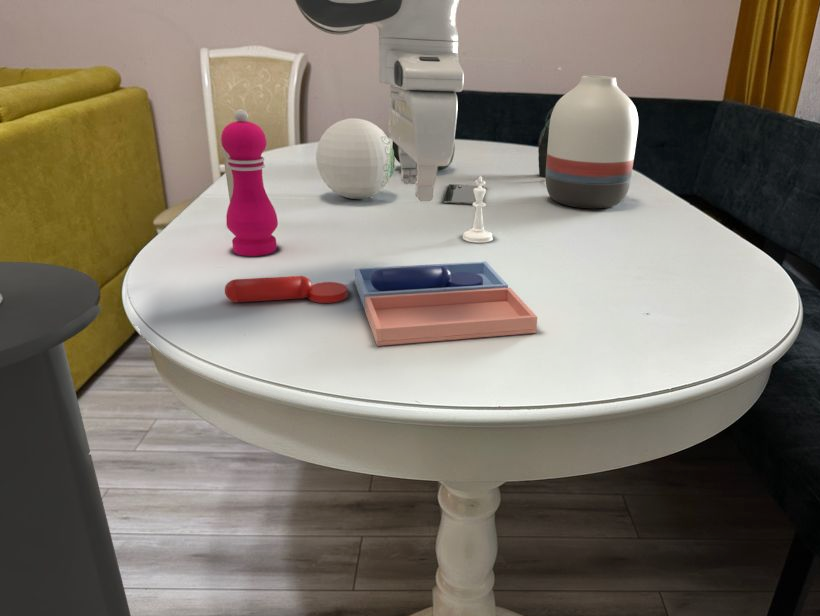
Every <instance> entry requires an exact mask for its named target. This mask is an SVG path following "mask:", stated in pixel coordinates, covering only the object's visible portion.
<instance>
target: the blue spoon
mask: <svg viewBox="0 0 820 616" xmlns="http://www.w3.org/2000/svg"><path fill="white" fill-rule="evenodd" d="M371 284H372V286H373V287H374V288H375V289H377V290H379V291H391V290H407V289H423V288H439V287H445V286H446V287H463V286H480V285H483V278H482V277H481V276H480V275H477V274H474V273H469V272H456V273H450V271H449V270H448V269H447V268H446V267H444V266H426V267H407V268H388V269H378V270H376V271H375V272H374V273H373V274H372V276H371Z"/></svg>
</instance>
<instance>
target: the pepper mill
mask: <svg viewBox="0 0 820 616" xmlns="http://www.w3.org/2000/svg"><path fill="white" fill-rule="evenodd" d="M234 119H235V120H236V121H233V122H229V123H228V124H226V125H225V127H224V128H223V130H222V132H221V135H220V144H221V146H222V148H224V150H225V151H226V152H227V153H228V154H229V156H230V157H229V158H228V159H227V161H228V164H229V165H228V168H229V169H231V170H232V175H233V194H232V197H231V201H230V200H229V204H228V207H227V210H226V217H225V218H226V219H225V220H226V221H225V222H226V227H227V229H228V230H229V231H230V233H231V234H233V236H234V237H233V238H232V240H231V244H232V250H233V251H232V252H233V253H235V254H236V255H238V256H243V257H260V256H266V255H270V254H272V253H274V252H276V251H277V238H276V236H274V235H273V233H274V232H275V231H276V229H278V225H279V220H278V215H277V212H276V209H275V207H274V206H273V205H274V204H272V201H271V200H270V198H269V196H268V194H267V192H266V188H265V186H264V178H263V179H262V176H263V169H264V168H265V167H266V165H265V162H264V161H265V158H264V157H263V156H262V154H263V153H264V151H265V150H266V147H267V137H266V135H265V133H264V132H265V131H263V129H262V128H261V127H260V126H259V125H257V124H256V123H254V122H252V121H248V119H249V114H248V112H247V111H246V110H245V109H241V108H240V109H236V111H235V112H234Z"/></svg>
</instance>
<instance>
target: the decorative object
mask: <svg viewBox="0 0 820 616" xmlns="http://www.w3.org/2000/svg"><path fill="white" fill-rule="evenodd" d="M395 160H396V158H395V156H394V151H393V148H392V142H391V140H390V139H389V137H388V135H386V133H385V132H384V131H383V129H382V128H380V127H379V126H378V125H376V124H375V123H373V122H371V121H370V120H366V119H362V118H355V117H354V118H353V117H352V118H345V119H342V120H338V121H336V122H335V123H333V124H332V125H330V126H329V127H328V128H327V129H326V130H325V131H324V133H323V134H322V135H321V137H320V139H319V141H318V143H317V147H316V153H315V161H316V167H317V170H318V173H319V176H320V177H321V179H322V181H323V183H324V184H325V185H326V186H327V187H328V188H329V189H330V190H331V191H333V192H334V193H335V194H337V195H339V196H341V197H343V198H347V199H350V200H351V199H353V200H361V199H368V198H370V197H373V196H374V195H377V194H378V193H380V191H382V190H383V189H385V187H386V186H387V185H388V183H389V182H390V180H391V178H392V176H393V173H394V170H395V169H394V168H395V162H396V161H395Z"/></svg>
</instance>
